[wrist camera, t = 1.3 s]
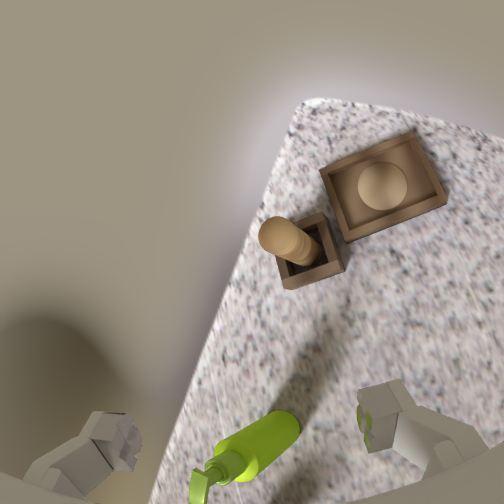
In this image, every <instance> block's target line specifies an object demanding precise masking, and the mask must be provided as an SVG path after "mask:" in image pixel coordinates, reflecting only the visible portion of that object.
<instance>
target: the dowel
mask: <svg viewBox="0 0 504 504" xmlns="http://www.w3.org/2000/svg"><path fill="white" fill-rule="evenodd" d="M258 238H259V243H260V245H261V247H262V248H263V249H264V250H265V251H267V252H269V253H272V254H274V255H276V256H279V257H281V258H284V259H286V260H288V261H291V262H293V263H296V264H298V265H300V266H303V267H305V268H314V267H316V266H318V265H319V264H320V263H321V261H322V259H323V257H324V250H323V247H322V246H321V244H320V243H318V242H317V241H316V240H314V239H313V238H312V237H310V236H309V235H308V234H306V233H305V232H303V231H302V230H301V229H299V228H298V227H297V226H295V225H294V224H292V223H291V222H290V221H288V220H287V219H285V218H283V217H280V216H275V217H271V218H269V219H268V220H266V221H265V222H264V223H263V224H262V226H261V228H260V230H259V235H258Z"/></svg>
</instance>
